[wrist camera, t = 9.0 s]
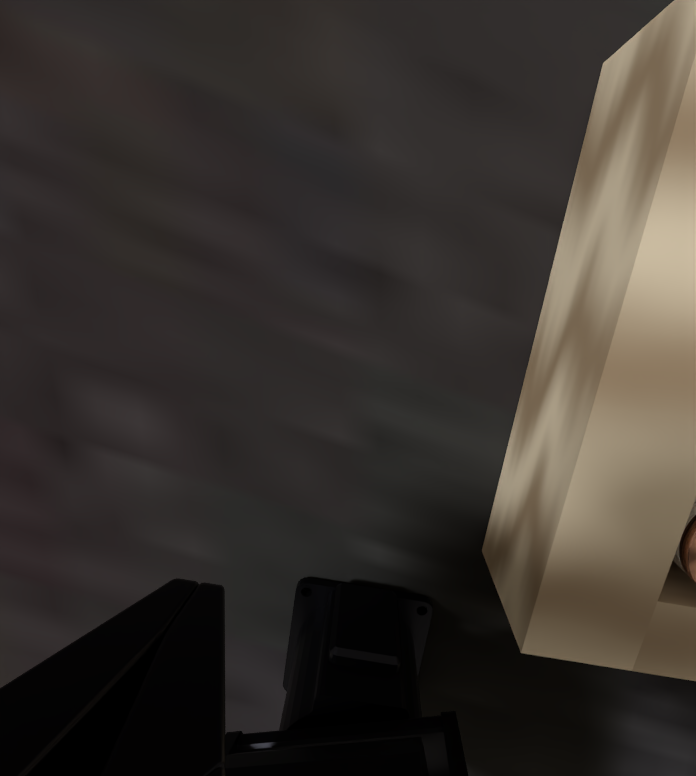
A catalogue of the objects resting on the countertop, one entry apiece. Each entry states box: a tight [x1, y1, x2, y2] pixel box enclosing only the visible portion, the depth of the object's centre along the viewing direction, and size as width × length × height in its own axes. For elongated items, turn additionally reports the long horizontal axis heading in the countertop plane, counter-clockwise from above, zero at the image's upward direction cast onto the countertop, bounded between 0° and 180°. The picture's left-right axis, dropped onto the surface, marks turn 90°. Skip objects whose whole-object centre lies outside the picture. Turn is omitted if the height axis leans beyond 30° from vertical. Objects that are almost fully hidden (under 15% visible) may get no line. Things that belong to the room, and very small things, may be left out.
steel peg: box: [673, 499, 696, 583], centre depth 18 cm, size 4×4×6 cm
